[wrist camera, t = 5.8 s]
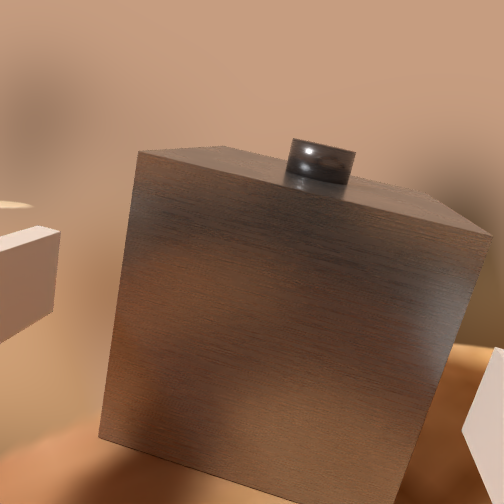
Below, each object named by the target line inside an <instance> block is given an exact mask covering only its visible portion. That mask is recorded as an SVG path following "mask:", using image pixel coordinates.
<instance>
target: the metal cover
mask: <svg viewBox="0 0 504 504" xmlns="http://www.w3.org/2000/svg"><path fill="white" fill-rule="evenodd" d="M355 154H356V152H353V151H349V150H345V149H341V148H337V147H332V146H328V145H324V144H319V143H315V142H310V141H305V140H300V139H295V138H293V140H292V145H291V149H290V153H289V157H288V161H286V160H282V159H278V158H273V157H269V156H264V155H260V154H256V153H251V152H247V151H243V150H238V149H235V148H230V147H226V146H215V147H198V148H181V149H165V150H148V151H138V157H137V164H136V171H135V178H134V186H133V192H132V200H131V207H130V214H129V222H128V228H127V235H126V242H125V249H124V257H123V264H122V271H121V278H120V285H119V292H118V299H117V306H116V314H115V321H114V328H113V335H112V342H111V349H110V356H109V363H108V371H107V378H106V385H105V392H104V399H103V406H102V413H101V420H100V428H99V435H98V437H99V438H102V439H105V440H109V441H112V442H115V443H118V444H121V445H124V446H127V447H130V448H133V449H136V450H139V451H142V452H145V453H148V454H151V455H154V456H157V457H160V458H163V459H166V460H169V461H172V462H175V463H179V464H182V465H185V466H188V467H191V468H194V469H197V470H200V471H203V472H206V473H209V474H212V475H215V476H218V477H221V478H224V479H227V480H230V481H233V482H236V483H239V484H242V485H245V486H248V487H252V488H255V489H258V490H261V491H264V492H267V493H270V494H273V495H276V496H279V497H282V498H285V499H288V500H291V501H294V502H297V503H300V504H393V503H394V501H395V498H396V495H397V493H398V490H399V487H400V485H401V482H402V479H403V477H404V474H405V471H406V469H407V466H408V463H409V461H410V458H411V455H412V453H413V450H414V447H415V445H416V442H417V439H418V437H419V434H420V431H421V429H422V426H423V423H424V420H425V418H426V415H427V412H428V410H429V407H430V404H431V402H432V399H433V396H434V394H435V391H436V388H437V386H438V383H439V380H440V378H441V375H442V372H443V370H444V367H445V364H446V362H447V359H448V356H449V354H450V351H451V348H452V346H453V343H454V340H455V338H456V335H457V332H458V330H459V327H460V324H461V321H462V319H463V316H464V314H465V311H466V308H467V305H468V303H469V300H470V297H471V295H472V292H473V289H474V287H475V284H476V281H477V279H478V276H479V273H480V271H481V268H482V265H483V263H484V260H485V257H486V255H487V252H488V249H489V247H490V244H491V241H492V239H493V236H492V235H491V234H489V233H488V232H486V231H485V230H483V229H481V228H480V227H478V226H477V225H475V224H474V223H472V222H471V221H469V220H467V219H466V218H464V217H463V216H461V215H460V214H458V213H456V212H455V211H453V210H452V209H450V208H448V207H447V206H445V205H444V204H442V203H441V202H439V201H437V200H436V199H434V198H433V197H431V196H430V195H428V194H427V193H424V192H420V191H415V190H411V189H407V188H402V187H398V186H394V185H390V184H385V183H381V182H377V181H372V180H368V179H364V178H359V177H355V176H351V175H350V173H351V169H352V166H353V162H354V158H355Z"/></svg>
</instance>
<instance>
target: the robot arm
mask: <svg viewBox="0 0 504 504" xmlns="http://www.w3.org/2000/svg"><path fill="white" fill-rule="evenodd" d="M60 234H61V231H57V230H54V229H50V228H46V227H42V226H35V227H31V228H28V229H25V230H21V231H18V232H14V233H11V234H8V235H4V236H0V344H1V343H2V342H4V341H6V340H7V339H9V338H11V337H12V336H14V335H15V334H17V333H19V332H20V331H22V330H24V329H25V328H27V327H29V326H30V325H32V324H34V323H35V322H37V321H38V320H40V319H42V318H43V317H45V316H46V315H48V314H50V313H51V312H53V306H54V295H55V285H56V275H57V264H58V253H59V244H60ZM462 433H463V435H464V438H465V440H466V442H467V445H468V447H469V449H470V452H471V454H472V456H473V459H474V461H475V464H476V466H477V468H478V471H479V473H480V475H481V478H482V480H483V483H484V485H485V487H486V490H487V492H488V494H489V497H490V499H491V501H492V504H504V349H500V348H497V347H495V348H494V351H493V353H492V356H491V358H490V361H489V363H488V366H487V368H486V370H485V373H484V375H483V378H482V380H481V383H480V385H479V388H478V390H477V393H476V395H475V398H474V400H473V403H472V405H471V408H470V410H469V413H468V415H467V418H466V420H465V423H464V425H463V428H462Z"/></svg>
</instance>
